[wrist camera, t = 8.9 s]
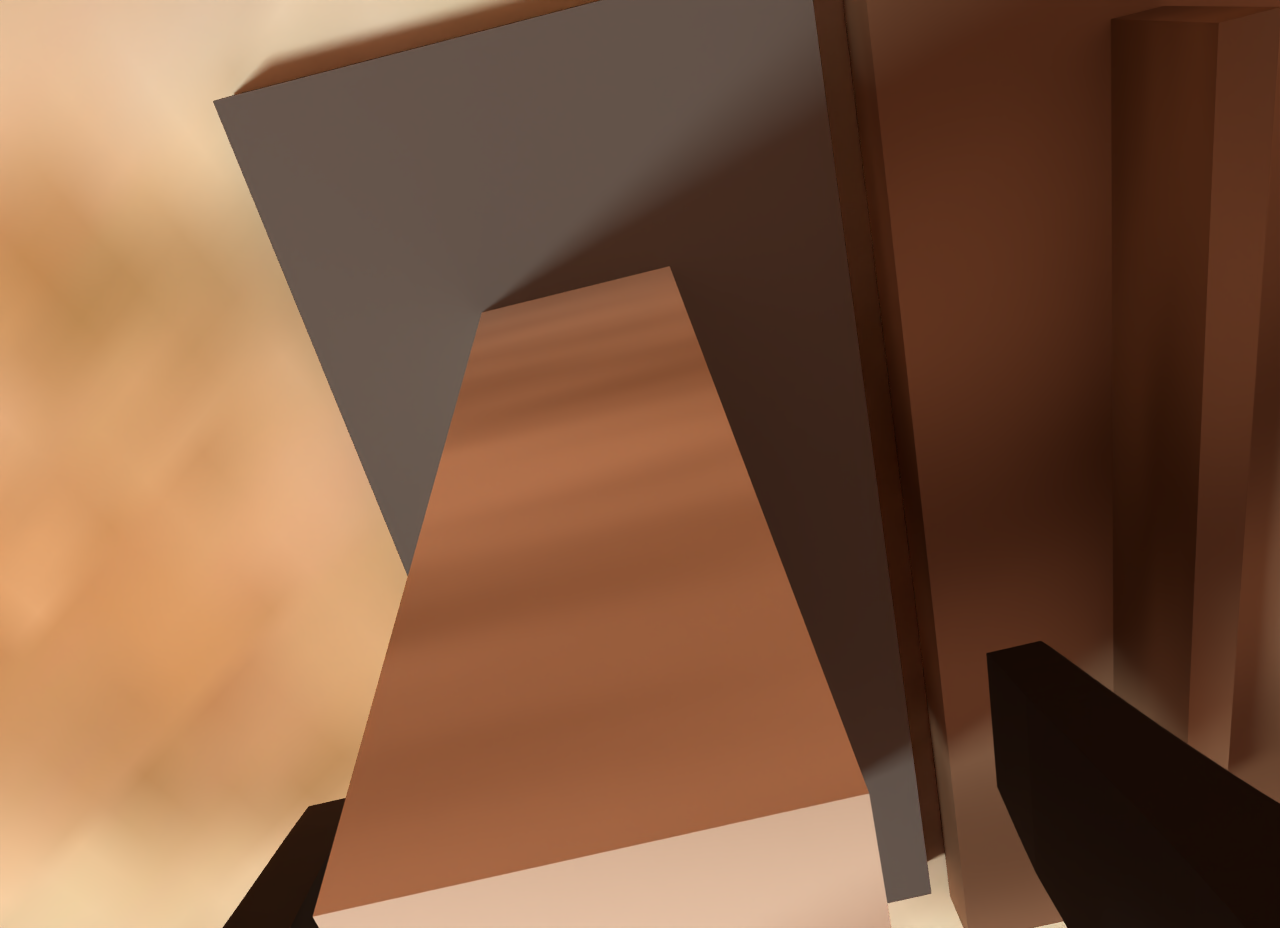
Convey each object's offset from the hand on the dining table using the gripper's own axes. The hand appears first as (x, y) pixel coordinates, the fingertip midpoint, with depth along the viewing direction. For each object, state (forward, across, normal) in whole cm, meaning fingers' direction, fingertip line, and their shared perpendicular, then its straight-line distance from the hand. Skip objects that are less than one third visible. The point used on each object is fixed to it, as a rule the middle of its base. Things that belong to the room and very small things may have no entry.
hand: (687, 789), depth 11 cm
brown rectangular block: (+4, 0, 0) cm, 4 cm away
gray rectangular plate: (+5, 0, 0) cm, 5 cm away
